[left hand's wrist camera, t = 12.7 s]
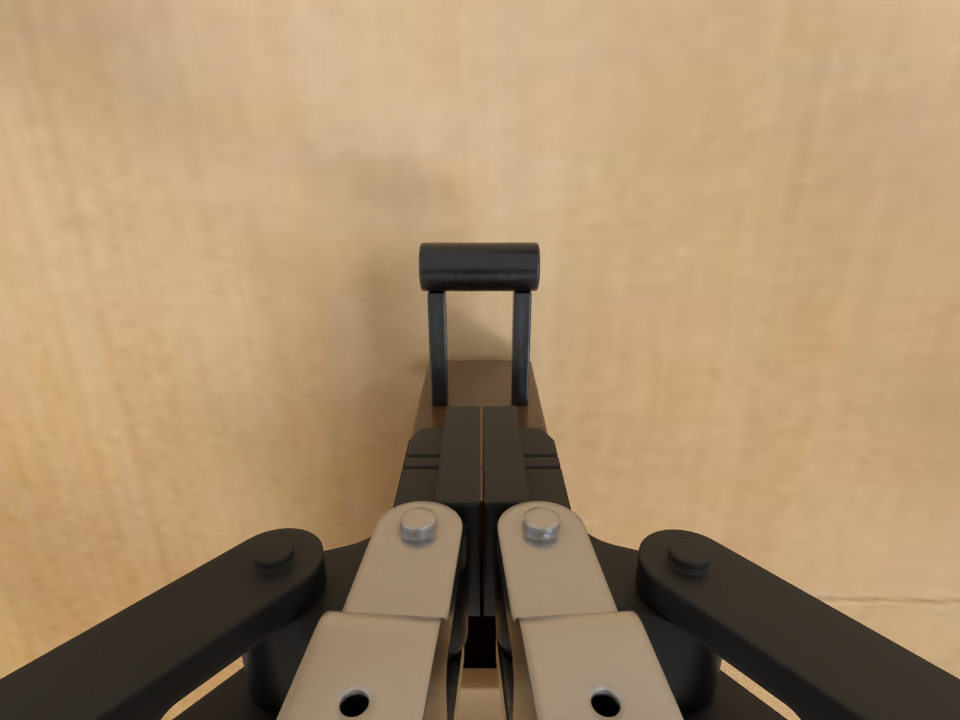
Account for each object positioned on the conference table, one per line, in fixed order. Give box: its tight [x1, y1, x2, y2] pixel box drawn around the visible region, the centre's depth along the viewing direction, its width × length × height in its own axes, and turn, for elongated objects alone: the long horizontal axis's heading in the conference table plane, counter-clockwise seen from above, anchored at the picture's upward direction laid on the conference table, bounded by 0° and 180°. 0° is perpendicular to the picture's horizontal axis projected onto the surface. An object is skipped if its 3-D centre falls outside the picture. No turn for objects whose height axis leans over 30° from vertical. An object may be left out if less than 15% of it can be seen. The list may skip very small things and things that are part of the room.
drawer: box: [411, 243, 548, 668], centre depth 23 cm, size 24×4×9 cm, turn 0°
